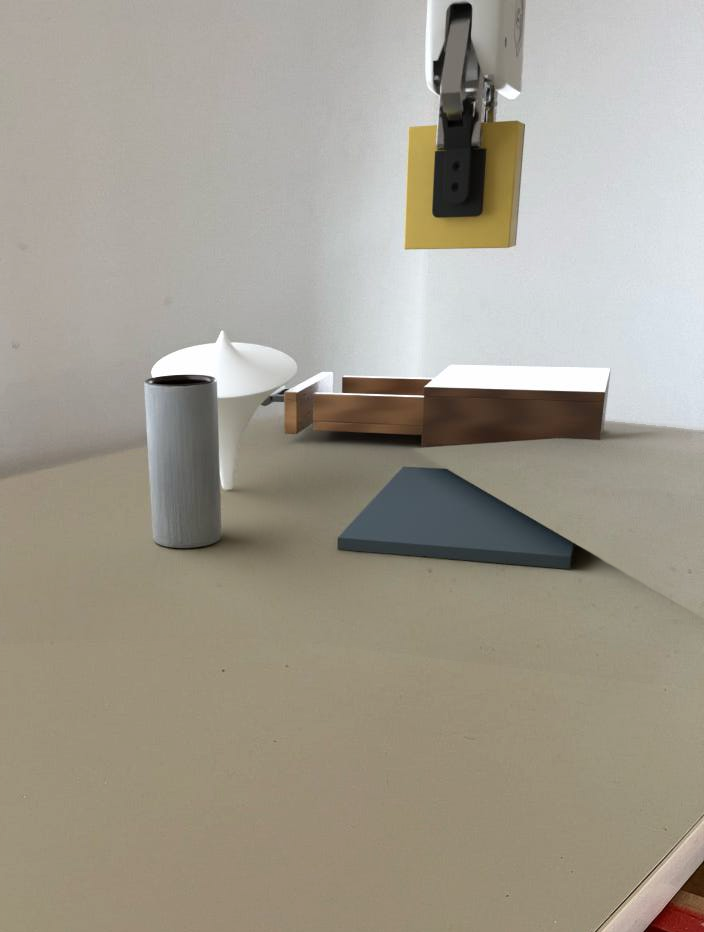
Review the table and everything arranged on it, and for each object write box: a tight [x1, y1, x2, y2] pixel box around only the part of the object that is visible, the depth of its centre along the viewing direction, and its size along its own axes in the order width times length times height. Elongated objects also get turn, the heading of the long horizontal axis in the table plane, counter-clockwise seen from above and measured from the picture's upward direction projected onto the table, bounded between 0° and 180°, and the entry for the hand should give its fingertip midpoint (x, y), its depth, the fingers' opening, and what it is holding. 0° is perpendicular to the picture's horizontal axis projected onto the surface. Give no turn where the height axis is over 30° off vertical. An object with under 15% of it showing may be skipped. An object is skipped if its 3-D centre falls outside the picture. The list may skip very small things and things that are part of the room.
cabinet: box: [420, 364, 612, 449], centre depth 92 cm, size 15×14×6 cm
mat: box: [336, 465, 576, 570], centre depth 71 cm, size 20×14×1 cm
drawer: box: [260, 371, 435, 436], centre depth 97 cm, size 17×12×4 cm
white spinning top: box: [151, 330, 298, 491], centre depth 77 cm, size 10×11×12 cm
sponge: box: [403, 120, 526, 250], centre depth 69 cm, size 7×4×8 cm, turn 68°
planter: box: [143, 374, 222, 549], centre depth 66 cm, size 4×4×10 cm
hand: (462, 213), depth 69 cm, fingers closed on sponge, 3 cm apart
